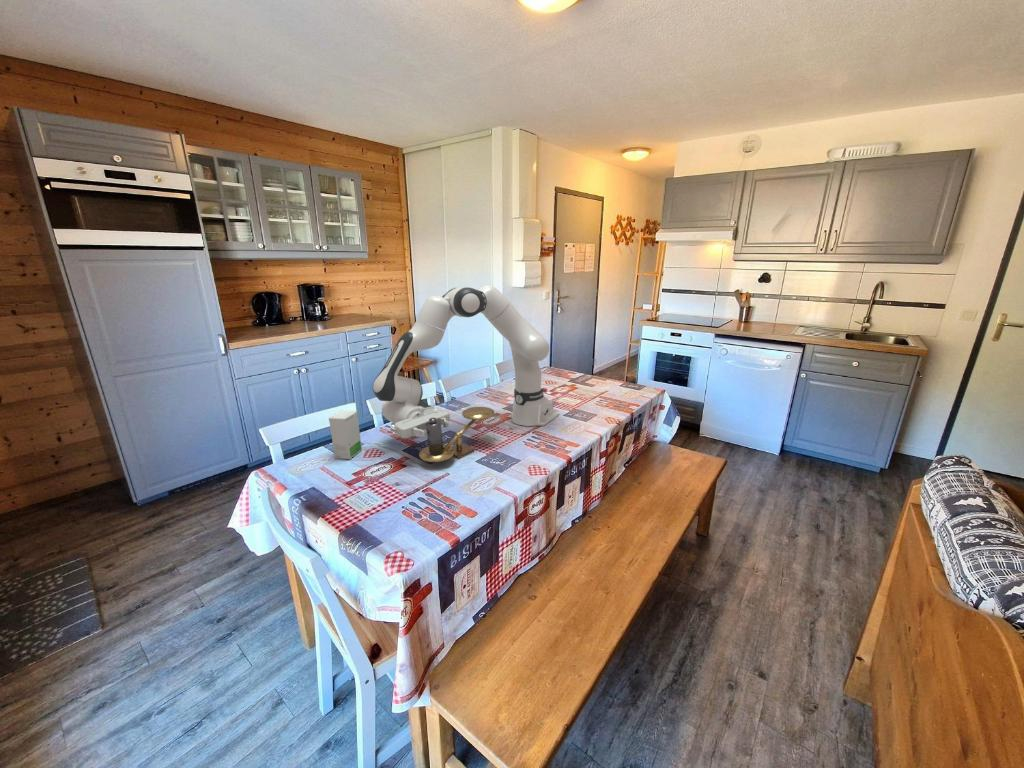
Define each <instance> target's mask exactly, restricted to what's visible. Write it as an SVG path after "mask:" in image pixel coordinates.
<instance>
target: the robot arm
mask: <svg viewBox="0 0 1024 768" xmlns="http://www.w3.org/2000/svg"><path fill="white" fill-rule="evenodd" d="M479 314H482V315H483V316H484V317H485V318H486V320H488V321H489V322H490V324H491V325H492V326H493V327H494V329H495V330H497V332H498V333H499V334H500V335H501V336H502V337H504V338H505V339H506V340H507V341H508V343H509V345H510V349H511V350H510V351H511V356H512V361H513V367H514V380H515V381H514V386H515V387H514V390H513V397H514V398H513V403H512V404H513V405H512V412H511V413H510V414H511V422H512V423H514V424H516V425H519V426H525V427H532V426H539V427H541V426H543V427H544V426H546V425H547V424H549V423H550V422H552V421H553V420H554V419H555V418H557V417H558V416H559V415H560V414H559V412H558V411H557V410H555V409H554V403H553V402H552V401H551V400H550V399H549V398H547V397H546V396H545V395H544V393H545V394H547V392H548V388H547V387H542V370H541V367H540V365H539V362H540V361H541V362H542V361H544V359H546V358H547V357H548V355H549V353H550V344H549V342H548V341H547V340H546V338H545V337H544V336H542V334H541V333H540V332H539V331H538V330H537V329H536V328H535V327H534V326H533V325H532V324H531V323H530V322H529V321H528V320H527V319H526V318H524V317H523V315H522V314H521V313H520V312H519V311H518V310H517V308H515V306H514V305H513V304H512V303H511V301H509V299H508V298H507V296H505V295H504V294H503V293H502V292H501V291H500V290H498V289H497V288H496V287H495V286H494V285H492V284H486V285H482V286H481V287H480V288H478V289H475V288H473V287H466V286H457V287H453V288H451V289H449V290H448V291H447V292H446V293H444V294H443V295H442V296H439V295H430V296H429V297H427V299H426V300H425V301H424V303H423V305H422V307H421V309H420V311H419V313H418V315H417V316H416V317H417V318H416V321H415V322H414V324H413V326H412V327H411V328H410V329H409V330H408V332H404V333H403V334H402V335H401V336H400V338H399V339H398V340H397V342H396V344H395V345H394V347H393V350H392V351H391V353H390V355H389V357H388V359H387V360H386V362H385V364H384V366H383V367H382V370H381V371H380V372H379V373H378V374H377V376H376V377H375V379H374V381H373V383H372V391H373V394H374V395H375V397H376V398H377V399H378V400H379V401H380V402H383V404H382V407H381V413H382V415H383V417H384V418H385V419H386V420H387V421H389V422H391V424H392V425H391V426H390V427H389V429H390V431H392V432H394V433H395V435H397V436H398V437H399V438H402V439H408V438H410V437H413V436H422V437H425V436H427V431H426V423H427V422H428V421H429V419H430V418H436V420H439V421H440V422H441V426H442V428H445V429H446V428H449V427H450V420H451V417H450V415H451V414H450V413H449V411H448V410H445V409H442V408H439V407H435V406H434V405H433V404H428V405H420V404H421V402H422V398H423V394H424V393H423V392H424V390H423V386H422V383H421V382H420V381H419V380H418V379H414V378H410V377H406V376H401V375H398V374H399V372H400V370H401V368H402V367H403V365H404V363H405V362H406V359H408V357H409V356H410V355H411V354H412V353H414V352H418V351H424V350H425V351H426V350H430V349H433V348H435V347H436V346H438V345H439V344H440V343H441V341H442V340H443V338H444V335H445V332H446V329H447V326H448V324H449V322H450V320H451V319H452V318H453V317H454V316H456V317H460V318H462V317H463V318H472V317H475V316H477V315H479Z"/></svg>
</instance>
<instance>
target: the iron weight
mask: <svg viewBox="0 0 1024 768" xmlns="http://www.w3.org/2000/svg"><path fill="white" fill-rule="evenodd" d="M426 431H427V435H426V437H427V445H428V446H427V447H429V453H430V455H433V456H437V455H440V454H442V453H443V452H444V447H443V445H444V441H443V440H444V439H443V431H442V425H441V422H440V421H439V420H436V418H430V419H429V421H428V422H427V423H426Z"/></svg>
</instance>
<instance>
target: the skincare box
mask: <svg viewBox="0 0 1024 768" xmlns="http://www.w3.org/2000/svg"><path fill="white" fill-rule="evenodd" d="M328 422H329V429H330V434H331V441H332V447H333V455H334V459H339V460H351V459H353V458H352V457H355V456H356V455H358V454H359V453H360V452H362V451H361V450H363V448H362V441H361V433H360V423H359V418H358V411H356V410H341V411H339V412H337V413H334V414H333V415H331V416H330V417H328ZM357 453H358V454H357Z"/></svg>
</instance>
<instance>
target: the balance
mask: <svg viewBox="0 0 1024 768" xmlns="http://www.w3.org/2000/svg"><path fill="white" fill-rule="evenodd" d="M461 414H462V417H463V418H465V419H467V420H469V422H468V423H467V424H466V425H465V426H464V427H463V428H462V429H461V430H460V431H459V432H456V433H455V436H453V438H452V439H451V440H450V441H449V442H447V443H446V444H443V447H444V452H443V453H442V454H440V455H437V456H433V455H430V453H429V446H426V447H424V448H422V449H421V450H420V451H419V453H418V457H419V459H420V460H422V461H424V462H427V463H440V462H444V461H447V460H450V459H451V458H452V457H453V458H455V459H457V460H459V459H462V458H464V457H466V456H468V455H470V453H471V454H472V452H473V453H475V452H474V451H476V449H475V448H474V447H472V446H470V445H468V444H466V443H464V442H463V441H462V436H463V435H464V434H465V433H466V432H467V431H468V430H469V428H471V427H472V426H473V425H474V424H475V423H476V422H478V421H481V420H482V421H483V420H488V419H491V418H492V417H493V416H494V415H495V410H494V409H492V408H491V407H486V406H473V407H468V408H466V409H464V410H463V411H462V412H461ZM454 443H455V444H454Z"/></svg>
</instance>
